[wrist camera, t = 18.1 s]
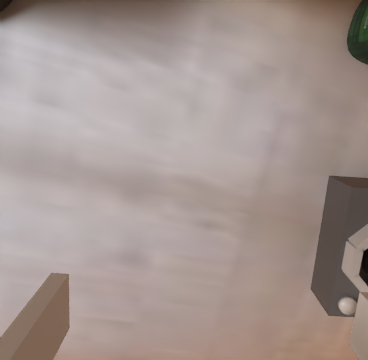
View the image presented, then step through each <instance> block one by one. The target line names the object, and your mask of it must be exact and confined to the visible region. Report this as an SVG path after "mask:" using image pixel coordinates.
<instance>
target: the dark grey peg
mask: <svg viewBox="0 0 368 360" xmlns="http://www.w3.org/2000/svg"><path fill="white" fill-rule="evenodd" d="M361 267H362V269H363V270H364V271H365V272H366V273H367V274H368V248H367V249H366V250H364V251H363V256H362V262H361Z"/></svg>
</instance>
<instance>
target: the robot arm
mask: <svg viewBox="0 0 368 360" xmlns="http://www.w3.org/2000/svg"><path fill="white" fill-rule="evenodd" d="M11 1H12V0H0V12H1V11H2V10H3V9H4V8H5V7H7V6H8V5H9V4H10V2H11ZM68 330H69V274H59V273H51V274H50V276H49V277H48V278H47V279H46V281H45V282H44V283H43V284H42V286H41V287H40V288H39V290H38V291H37V292H36V293H35V295H34V296H33V297H32V298H31V300H30V301H29V302H28V303H27V305H26V306H25V307H24V309H23V310H22V311H21V312H20V314H19V315H18V316H17V317H16V319H15V320H14V321H13V322H12V324H11V325H10V326H9V328H8V329H7V330H6V331H5V333H4V334H3V335H2V336H1V338H0V360H53V359H54V357H55V355H56V353H57V351H58V349H59V347H60V345H61V343H62V341H63V339H64V337H65V335H66V333H67V332H68ZM349 345H350V347H351V348H352V350H353V351H354V353H355V354H356V356H357V357H358V359H359V360H368V292H360V293H359V298H358V303H357V308H356V313H355V318H354V323H353V328H352V333H351V338H350V343H349Z"/></svg>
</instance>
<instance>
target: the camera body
mask: <svg viewBox="0 0 368 360" xmlns="http://www.w3.org/2000/svg"><path fill="white" fill-rule="evenodd" d="M367 248H368V178H355V177H339V176H329V180H328V186H327V193H326V199H325V205H324V211H323V217H322V223H321V229H320V235H319V241H318V248H317V254H316V260H315V266H314V272H313V278H312V284H311V290H312V291H313V293H314V295H315V296H316V298H317V299H318V301H319V302H320V304H321V305H322V307H323V308H324V310H325V311H326V313H327V314H328V316H343V317H355V313H356V308H357V303H358V298H359V293H360V292H368V274H367V273H366V272H365V271H364V270H363V269H362V267H361V262H362V256H363V251H364V250H366V249H367Z"/></svg>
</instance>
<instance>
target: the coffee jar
mask: <svg viewBox="0 0 368 360" xmlns="http://www.w3.org/2000/svg"><path fill="white" fill-rule="evenodd" d="M347 45H348V49H349V52H350V53H351V55H352V56H353V57H354V58H356V59H357V60H359V61H361V62H364V63H366V64H368V0H363V1H362V2H361V3H360V5H359V6H358V8H357V10H356V12H355V14H354V16H353V19H352V22H351V25H350V28H349V32H348V37H347Z"/></svg>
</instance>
